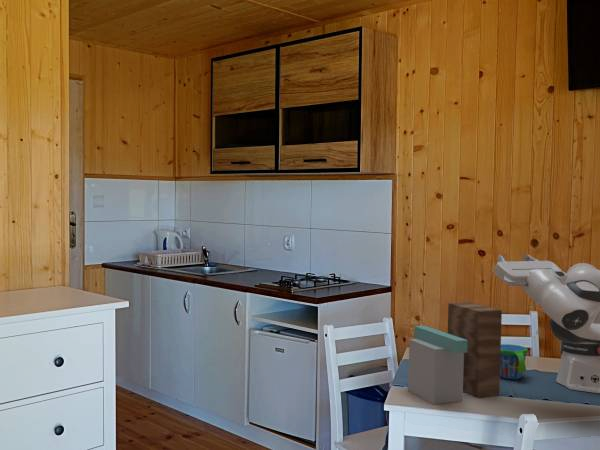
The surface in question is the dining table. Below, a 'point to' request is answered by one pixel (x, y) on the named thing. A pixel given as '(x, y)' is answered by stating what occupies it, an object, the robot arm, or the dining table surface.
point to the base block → (435, 372)
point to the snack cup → (512, 361)
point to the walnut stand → (478, 346)
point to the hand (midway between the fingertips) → (512, 256)
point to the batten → (441, 339)
